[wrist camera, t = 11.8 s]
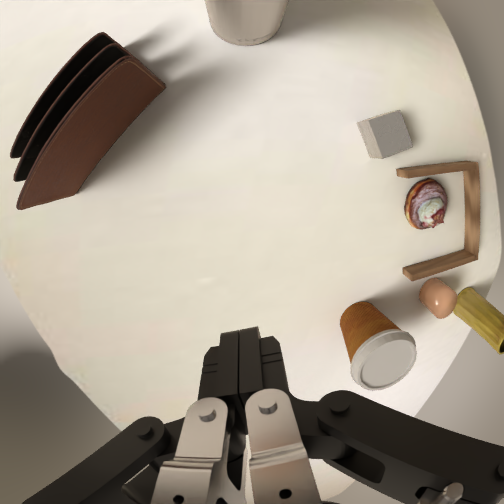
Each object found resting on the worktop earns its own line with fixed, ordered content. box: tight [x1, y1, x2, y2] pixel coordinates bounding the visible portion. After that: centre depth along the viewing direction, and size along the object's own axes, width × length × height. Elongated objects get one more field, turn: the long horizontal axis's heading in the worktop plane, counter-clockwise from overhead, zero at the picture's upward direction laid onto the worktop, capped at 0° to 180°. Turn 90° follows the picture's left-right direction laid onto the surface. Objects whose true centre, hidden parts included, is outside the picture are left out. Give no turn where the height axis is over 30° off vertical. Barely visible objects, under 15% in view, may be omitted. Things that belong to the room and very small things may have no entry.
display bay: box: [396, 161, 480, 281], centre depth 36 cm, size 16×14×3 cm
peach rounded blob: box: [419, 278, 458, 319], centre depth 40 cm, size 5×5×5 cm
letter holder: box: [10, 32, 166, 210], centre depth 25 cm, size 10×20×14 cm, turn 133°
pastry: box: [404, 178, 447, 229], centre depth 35 cm, size 8×8×5 cm
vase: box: [453, 288, 504, 354], centre depth 37 cm, size 6×6×14 cm
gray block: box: [357, 110, 413, 159], centre depth 32 cm, size 5×5×4 cm
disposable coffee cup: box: [340, 302, 417, 391], centre depth 37 cm, size 10×10×12 cm
